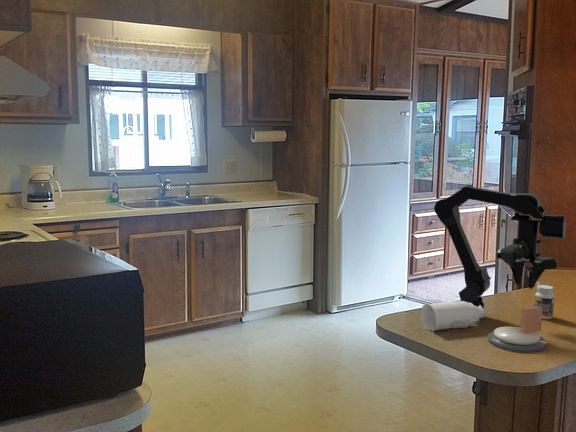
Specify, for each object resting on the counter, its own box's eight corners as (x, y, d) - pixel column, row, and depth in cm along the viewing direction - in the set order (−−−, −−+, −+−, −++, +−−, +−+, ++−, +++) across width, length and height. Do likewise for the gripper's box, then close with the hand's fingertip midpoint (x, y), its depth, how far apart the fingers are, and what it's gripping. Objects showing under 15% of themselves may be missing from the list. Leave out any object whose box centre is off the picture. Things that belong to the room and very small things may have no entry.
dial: (515, 347, 164) (517, 318, 162) (484, 333, 174) (486, 306, 173) (555, 340, 169) (556, 312, 168) (522, 327, 180) (524, 301, 179)
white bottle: (489, 329, 184) (490, 303, 183) (433, 334, 178) (435, 308, 177) (473, 321, 191) (475, 296, 190) (419, 326, 185) (421, 300, 184)
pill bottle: (532, 318, 194) (534, 287, 193) (534, 313, 200) (536, 283, 198) (552, 320, 192) (554, 289, 190) (553, 316, 197) (555, 285, 196)
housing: (494, 351, 165) (495, 346, 165) (483, 332, 180) (483, 328, 179) (552, 353, 163) (553, 348, 163) (536, 335, 178) (536, 330, 178)
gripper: (484, 232, 189) (482, 281, 191) (530, 242, 172) (526, 296, 174) (512, 230, 194) (509, 278, 196) (559, 240, 177) (556, 292, 179)
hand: (524, 286), depth 186 cm, fingers open, 5 cm apart
